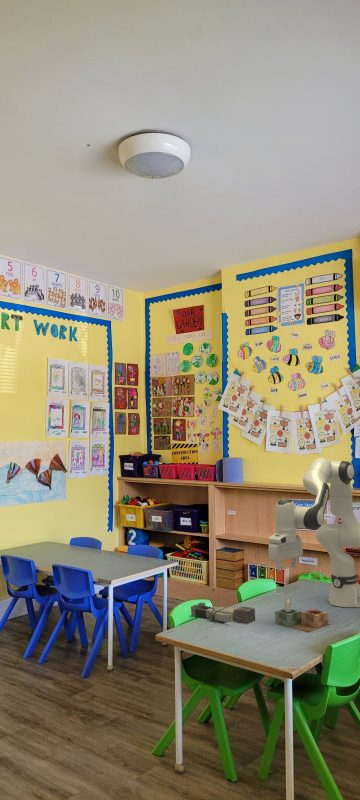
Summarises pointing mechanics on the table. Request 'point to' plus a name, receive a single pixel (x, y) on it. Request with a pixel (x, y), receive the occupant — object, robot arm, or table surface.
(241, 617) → the toy figure
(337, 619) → the table surface
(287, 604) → the metal pin
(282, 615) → the dock board
